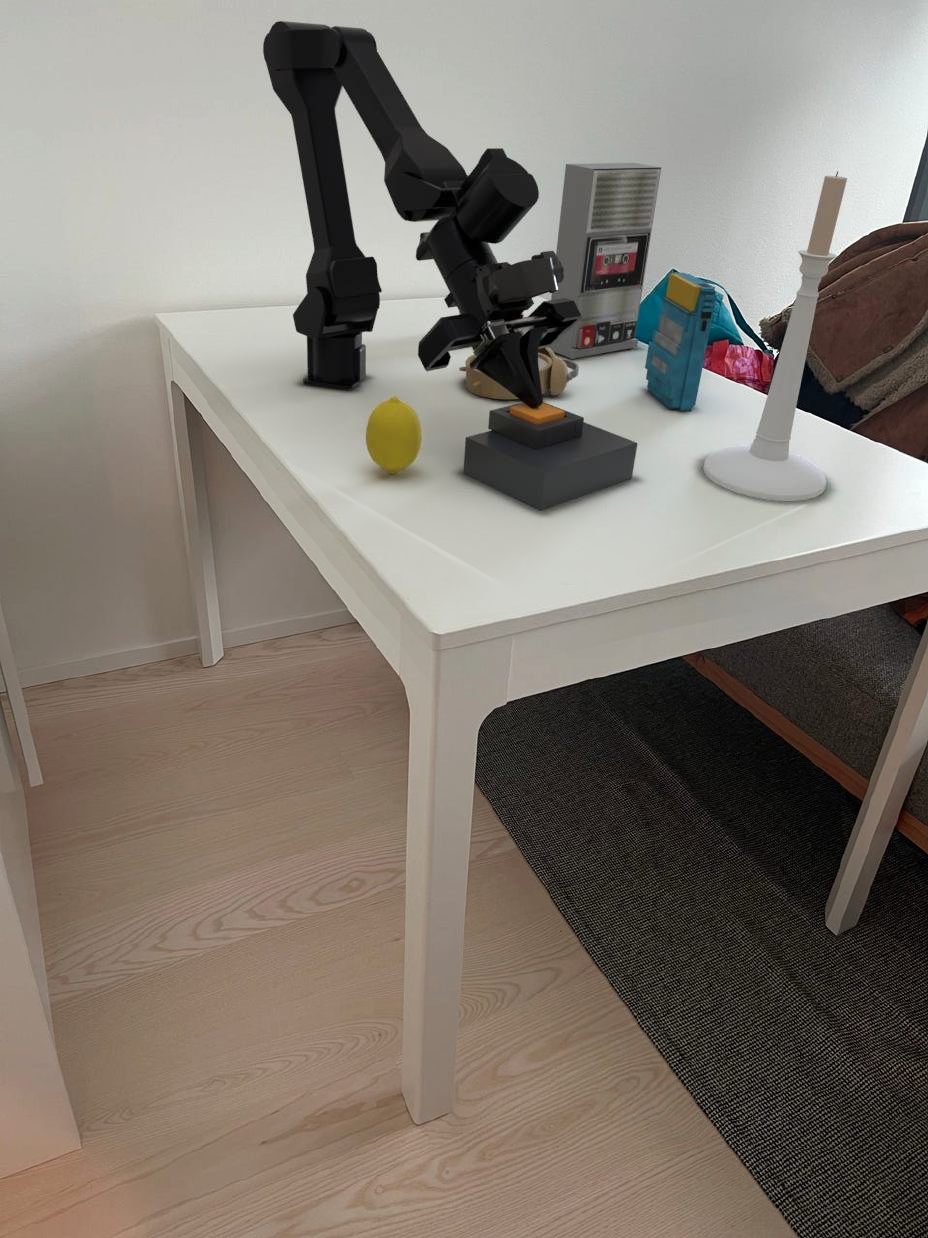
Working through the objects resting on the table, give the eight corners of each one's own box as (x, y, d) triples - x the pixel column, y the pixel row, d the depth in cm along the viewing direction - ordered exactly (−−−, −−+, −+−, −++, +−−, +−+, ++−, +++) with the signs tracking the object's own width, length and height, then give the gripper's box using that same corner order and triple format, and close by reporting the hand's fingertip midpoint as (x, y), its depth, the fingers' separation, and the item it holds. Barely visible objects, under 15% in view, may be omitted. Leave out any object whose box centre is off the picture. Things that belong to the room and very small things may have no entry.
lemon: (399, 489, 93) (401, 410, 89) (354, 474, 95) (354, 397, 91) (430, 472, 97) (434, 396, 93) (386, 459, 99) (388, 384, 95)
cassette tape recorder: (573, 360, 136) (597, 169, 123) (544, 350, 140) (564, 163, 127) (637, 349, 143) (666, 168, 131) (608, 339, 147) (634, 162, 134)
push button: (460, 472, 97) (463, 416, 94) (552, 445, 106) (558, 393, 103) (540, 511, 91) (547, 452, 87) (631, 478, 99) (641, 423, 96)
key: (507, 428, 97) (509, 406, 96) (534, 421, 100) (536, 400, 99) (535, 440, 95) (537, 418, 94) (562, 432, 97) (565, 410, 96)
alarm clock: (454, 353, 125) (562, 332, 127) (458, 389, 127) (564, 368, 129) (474, 379, 115) (591, 356, 117) (478, 417, 118) (592, 394, 120)
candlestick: (681, 474, 101) (742, 164, 85) (735, 445, 110) (799, 160, 94) (795, 512, 94) (883, 183, 79) (843, 478, 103) (930, 176, 87)
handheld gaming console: (698, 412, 119) (722, 289, 112) (667, 412, 118) (689, 288, 111) (667, 387, 127) (688, 271, 120) (639, 388, 126) (658, 271, 119)
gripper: (442, 227, 85) (518, 380, 84) (579, 216, 96) (647, 350, 95) (386, 299, 94) (454, 438, 93) (517, 281, 105) (579, 405, 104)
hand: (537, 406), depth 96 cm, fingers closed, pressing on key
